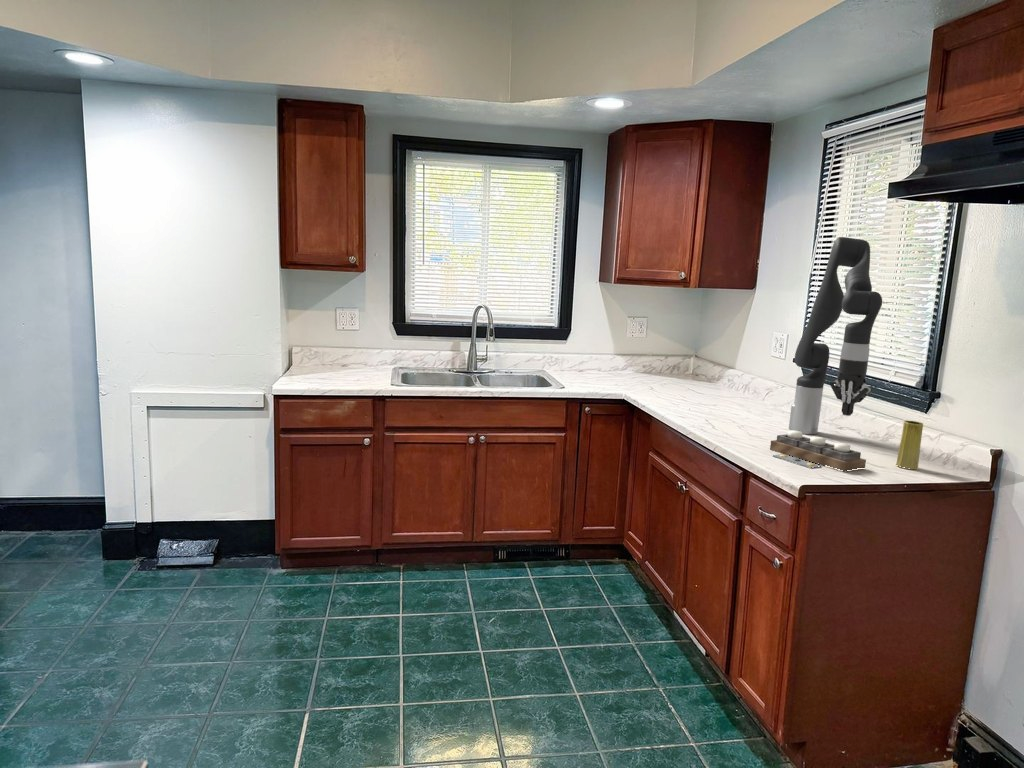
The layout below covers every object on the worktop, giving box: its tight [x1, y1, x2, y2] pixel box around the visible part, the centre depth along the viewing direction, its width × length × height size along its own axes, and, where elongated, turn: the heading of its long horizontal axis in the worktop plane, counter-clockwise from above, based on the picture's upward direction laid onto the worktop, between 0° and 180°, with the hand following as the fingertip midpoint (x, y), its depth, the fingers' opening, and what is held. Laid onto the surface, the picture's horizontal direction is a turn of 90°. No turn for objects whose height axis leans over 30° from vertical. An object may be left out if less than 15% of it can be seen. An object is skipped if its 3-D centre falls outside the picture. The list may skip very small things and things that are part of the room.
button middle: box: [809, 435, 827, 446], centre depth 217 cm, size 4×4×2 cm
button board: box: [769, 433, 867, 471], centre depth 218 cm, size 27×10×5 cm, turn 30°
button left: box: [787, 429, 803, 440], centre depth 225 cm, size 4×4×2 cm
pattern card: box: [772, 453, 822, 468], centre depth 214 cm, size 14×5×1 cm, turn 30°
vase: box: [895, 420, 924, 470], centre depth 213 cm, size 6×6×14 cm
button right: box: [833, 442, 851, 453], centre depth 210 cm, size 4×4×2 cm
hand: (846, 415), depth 209 cm, fingers closed
